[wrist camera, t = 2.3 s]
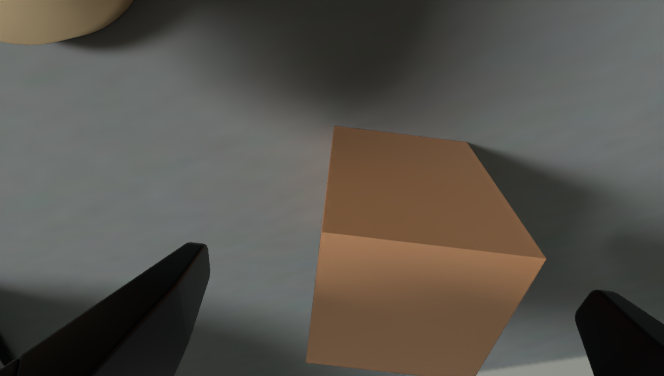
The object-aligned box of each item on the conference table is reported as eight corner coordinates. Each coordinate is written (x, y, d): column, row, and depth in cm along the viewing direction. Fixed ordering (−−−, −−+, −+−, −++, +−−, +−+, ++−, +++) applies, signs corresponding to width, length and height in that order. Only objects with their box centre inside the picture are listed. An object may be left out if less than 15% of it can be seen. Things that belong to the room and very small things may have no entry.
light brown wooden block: (431, 242, 12) (472, 381, 8) (321, 229, 12) (305, 362, 8) (466, 141, 10) (546, 258, 6) (334, 125, 10) (321, 232, 6)
